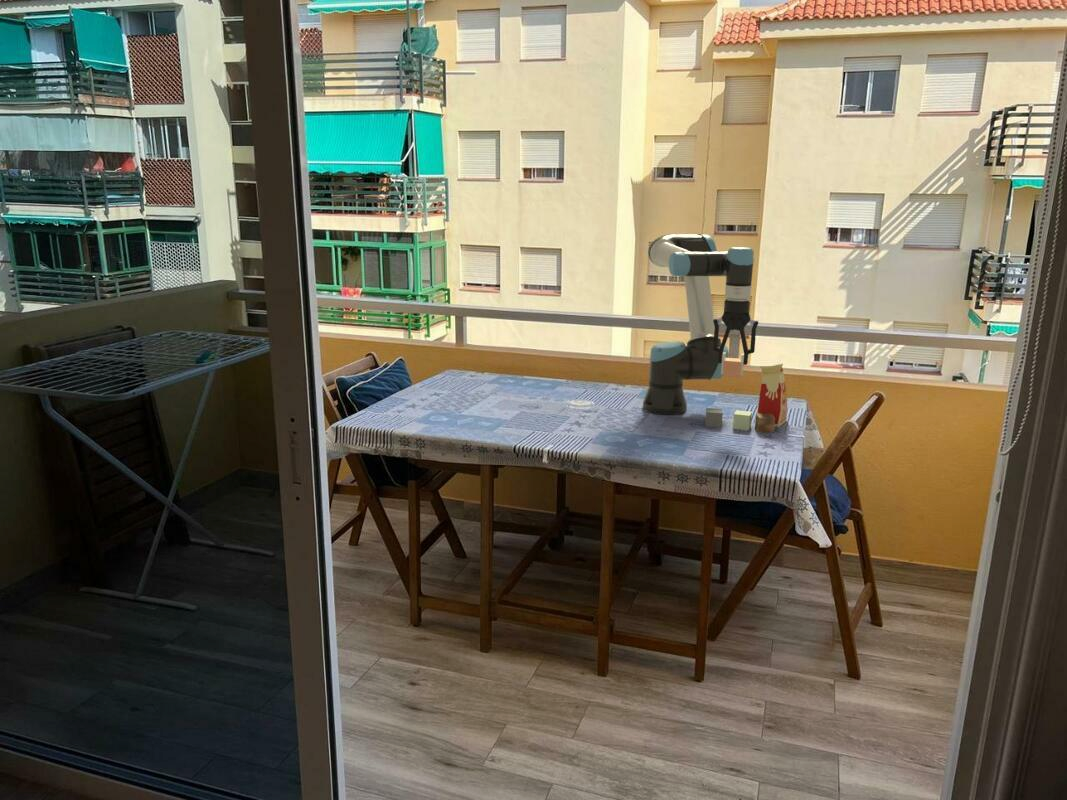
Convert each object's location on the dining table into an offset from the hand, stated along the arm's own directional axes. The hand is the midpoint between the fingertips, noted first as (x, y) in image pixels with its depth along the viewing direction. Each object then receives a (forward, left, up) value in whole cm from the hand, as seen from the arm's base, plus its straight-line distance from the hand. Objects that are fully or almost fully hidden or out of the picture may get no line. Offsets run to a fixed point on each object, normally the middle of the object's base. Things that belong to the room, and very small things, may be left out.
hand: (731, 373), depth 241 cm
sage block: (+4, +6, -19) cm, 20 cm away
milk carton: (+12, +16, -19) cm, 28 cm away
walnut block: (+11, +5, -19) cm, 22 cm away
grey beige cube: (-5, +6, -19) cm, 20 cm away
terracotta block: (0, 0, 0) cm, 0 cm away
